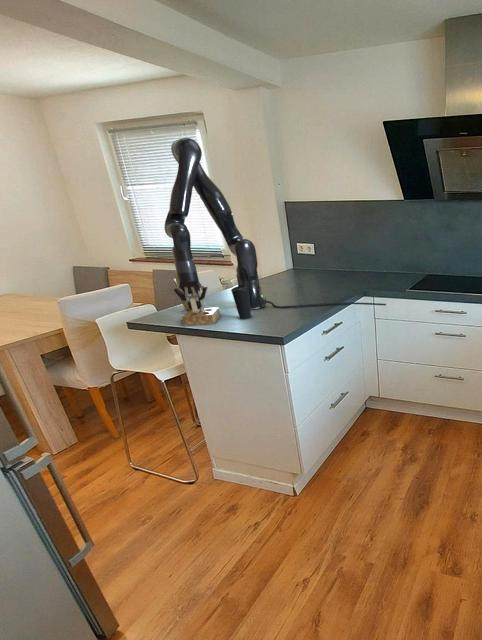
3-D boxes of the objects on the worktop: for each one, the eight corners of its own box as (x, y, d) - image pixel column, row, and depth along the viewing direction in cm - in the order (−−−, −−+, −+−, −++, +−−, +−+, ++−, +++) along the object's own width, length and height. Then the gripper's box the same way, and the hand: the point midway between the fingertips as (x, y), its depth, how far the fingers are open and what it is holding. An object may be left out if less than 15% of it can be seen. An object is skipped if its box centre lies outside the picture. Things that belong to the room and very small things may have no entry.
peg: (201, 316, 174) (196, 297, 171) (199, 318, 172) (195, 298, 169) (195, 317, 174) (191, 297, 170) (194, 318, 172) (189, 299, 168)
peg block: (220, 315, 178) (218, 307, 177) (214, 323, 167) (212, 314, 166) (192, 317, 176) (190, 309, 174) (184, 325, 165) (181, 316, 163)
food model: (206, 306, 192) (197, 266, 183) (203, 310, 186) (193, 269, 178) (184, 308, 189) (174, 267, 181) (181, 312, 183) (170, 270, 175)
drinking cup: (237, 321, 171) (228, 276, 162) (235, 316, 177) (226, 273, 168) (255, 318, 174) (247, 274, 166) (253, 314, 180) (245, 271, 172)
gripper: (165, 272, 159) (176, 312, 167) (201, 271, 162) (210, 310, 169) (171, 269, 166) (181, 308, 173) (206, 268, 169) (214, 306, 176)
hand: (195, 309), depth 171 cm, fingers closed on peg, 2 cm apart
